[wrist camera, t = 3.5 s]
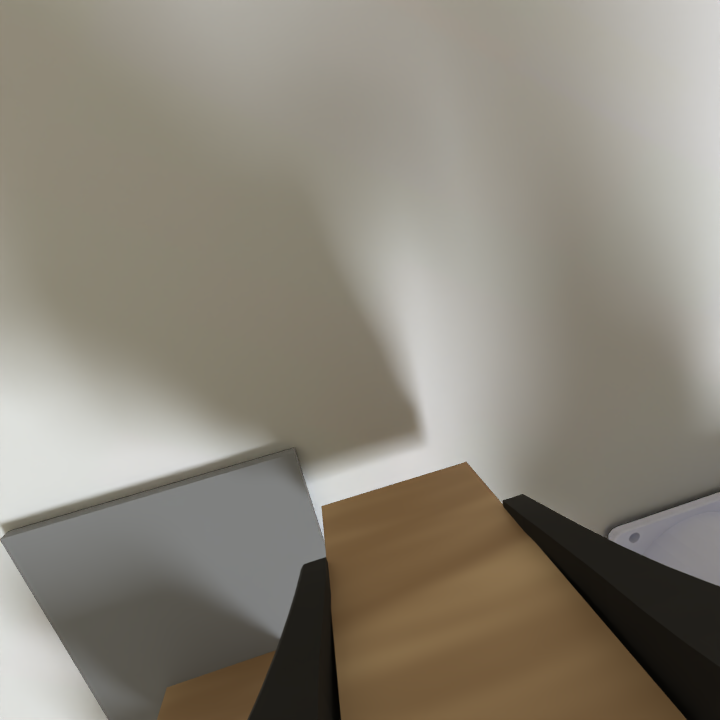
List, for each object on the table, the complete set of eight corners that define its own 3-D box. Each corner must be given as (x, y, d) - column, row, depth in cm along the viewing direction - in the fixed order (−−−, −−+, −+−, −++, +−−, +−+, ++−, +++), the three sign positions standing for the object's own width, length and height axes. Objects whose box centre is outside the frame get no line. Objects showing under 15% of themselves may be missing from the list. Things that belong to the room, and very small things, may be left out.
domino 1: (321, 506, 12) (358, 907, 5) (466, 461, 13) (721, 760, 5) (333, 546, 13) (386, 974, 5) (473, 501, 13) (718, 832, 5)
